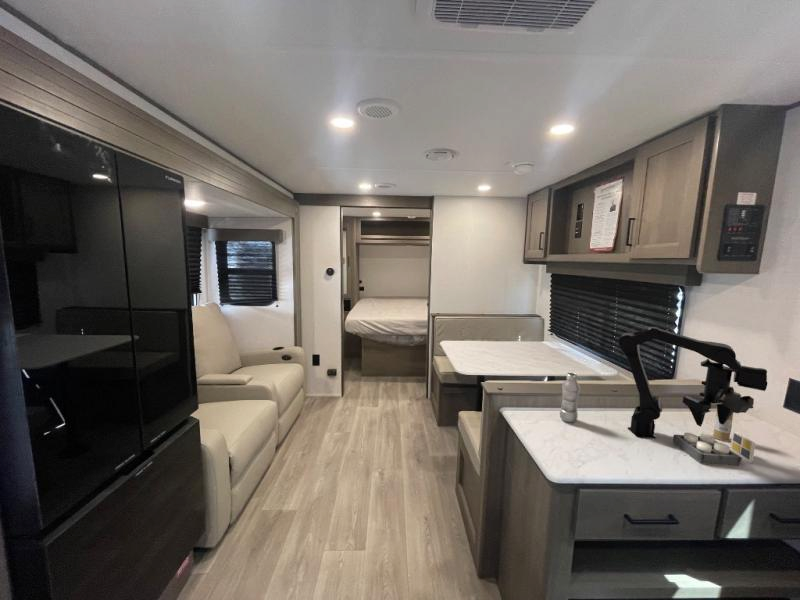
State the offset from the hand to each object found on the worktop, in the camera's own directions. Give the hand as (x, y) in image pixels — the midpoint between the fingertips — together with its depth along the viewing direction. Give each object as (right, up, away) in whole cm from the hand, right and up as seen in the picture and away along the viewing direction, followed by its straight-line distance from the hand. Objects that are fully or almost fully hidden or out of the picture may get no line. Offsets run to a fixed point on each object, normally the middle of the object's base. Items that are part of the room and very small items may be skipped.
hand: (710, 424), depth 106 cm
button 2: (-4, -8, -2) cm, 9 cm away
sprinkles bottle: (+15, -10, +11) cm, 21 cm away
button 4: (+2, -8, -2) cm, 9 cm away
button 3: (+2, -8, +3) cm, 9 cm away
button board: (-1, -11, +1) cm, 11 cm away
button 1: (-3, -8, +4) cm, 9 cm away
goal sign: (+11, -11, 0) cm, 15 cm away
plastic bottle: (-36, -8, +23) cm, 44 cm away
